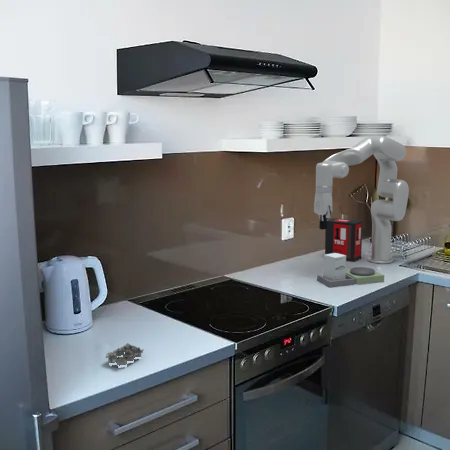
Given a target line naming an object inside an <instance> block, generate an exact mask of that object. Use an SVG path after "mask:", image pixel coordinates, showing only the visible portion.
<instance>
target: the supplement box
mask: <svg viewBox="0 0 450 450" xmlns="http://www.w3.org/2000/svg"><path fill="white" fill-rule="evenodd" d="M322 262H323V264H322V277H324V278H326V279H328V280H330V281H336V280H345V276H346V270H347V269H346V268H347V261H346V255H342V254H338V253H331V254H326V255H325V254H323V260H322Z"/></svg>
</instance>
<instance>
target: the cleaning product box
mask: <svg viewBox="0 0 450 450" xmlns="http://www.w3.org/2000/svg"><path fill="white" fill-rule="evenodd" d="M324 230H325V233H324V234H325V237H324V238H325V240H324V242H325V243H324V255H326V254H331V253H338V254H342V255H346V262H351V263H356V262H357V261H360V260H361V259H362V243H363V220H355V219H347V218H346V219H345V218H335V217H332V218H328V221H327V229H324Z"/></svg>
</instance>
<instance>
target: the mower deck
mask: <svg viewBox="0 0 450 450" xmlns="http://www.w3.org/2000/svg"><path fill="white" fill-rule="evenodd" d="M316 281H318V282H319V283H321V284H323V285H324V286H327V287H328V288H338V287H345V286H353V285H354V284H359V285H366V284H367V283H368V284H376V283H384V282H385V275H384V274H382V273H380V272H377V271H376V270H375V269H373V268H371V267H365V266H364V267H363V266H358V267H357V266H355V267H351V268H350V269H346V276H345V280H336V281H330V280H328V279H326V278H324V277H323V275H320V274H317V275H316Z"/></svg>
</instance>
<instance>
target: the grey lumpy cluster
mask: <svg viewBox="0 0 450 450" xmlns="http://www.w3.org/2000/svg"><path fill="white" fill-rule="evenodd" d="M124 352H125V355H124ZM143 353H144V349H141V348H140V347H137V346H135V345H132V344H130V343H126V344H125V345H123V346H121V347H120V348H119V347H118V348H117V349H115V350H112V351H109V352H107V353H106V356H105V357H104V358H105V359H108V363H115V362H116V363H117V365H119V366H120V365H126V364H127V361H133V360H135V359H134V358H135V357H141V358H142V354H143ZM121 355H124V356H123V357H121V358H118V359H116V358H117V356H121ZM135 361H136V360H135ZM108 363H107V364H108Z"/></svg>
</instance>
